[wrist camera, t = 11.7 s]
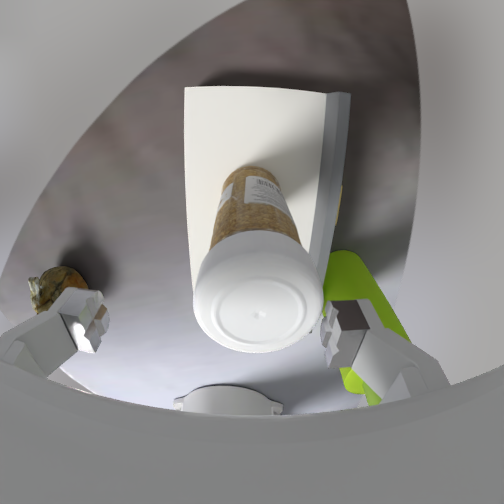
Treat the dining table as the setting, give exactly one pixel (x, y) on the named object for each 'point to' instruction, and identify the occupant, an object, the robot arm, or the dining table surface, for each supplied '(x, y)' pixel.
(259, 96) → the white slab
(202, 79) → the dining table surface
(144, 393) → the dining table surface
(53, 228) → the dining table surface
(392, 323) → the soap dispenser
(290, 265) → the sprinkles bottle
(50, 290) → the onion
